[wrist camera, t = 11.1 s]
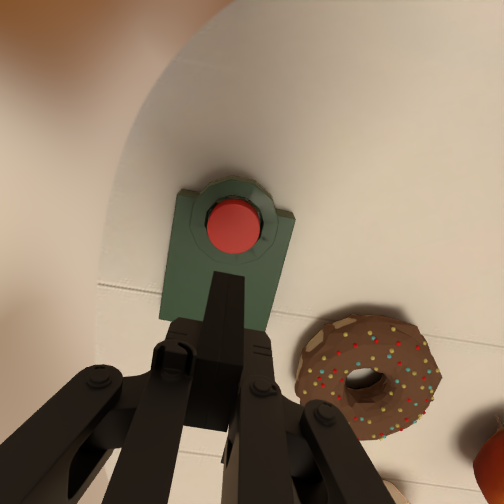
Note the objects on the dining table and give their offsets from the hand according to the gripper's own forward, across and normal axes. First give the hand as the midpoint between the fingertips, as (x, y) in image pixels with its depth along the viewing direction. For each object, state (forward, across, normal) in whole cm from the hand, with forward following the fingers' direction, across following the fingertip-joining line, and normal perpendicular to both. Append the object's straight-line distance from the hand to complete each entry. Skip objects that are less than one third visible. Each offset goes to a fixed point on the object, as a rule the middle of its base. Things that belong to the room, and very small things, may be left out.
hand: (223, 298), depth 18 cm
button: (+13, 0, 0) cm, 13 cm away
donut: (+16, +16, -13) cm, 26 cm away
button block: (+16, 0, -4) cm, 17 cm away
